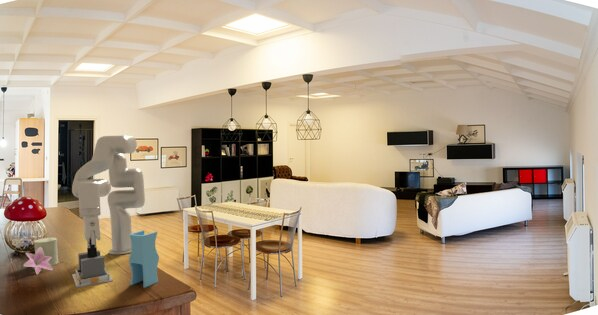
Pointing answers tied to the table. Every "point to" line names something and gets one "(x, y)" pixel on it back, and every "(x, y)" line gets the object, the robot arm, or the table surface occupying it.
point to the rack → (93, 280)
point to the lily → (38, 261)
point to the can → (48, 248)
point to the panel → (92, 267)
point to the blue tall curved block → (143, 258)
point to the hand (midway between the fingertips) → (92, 257)
